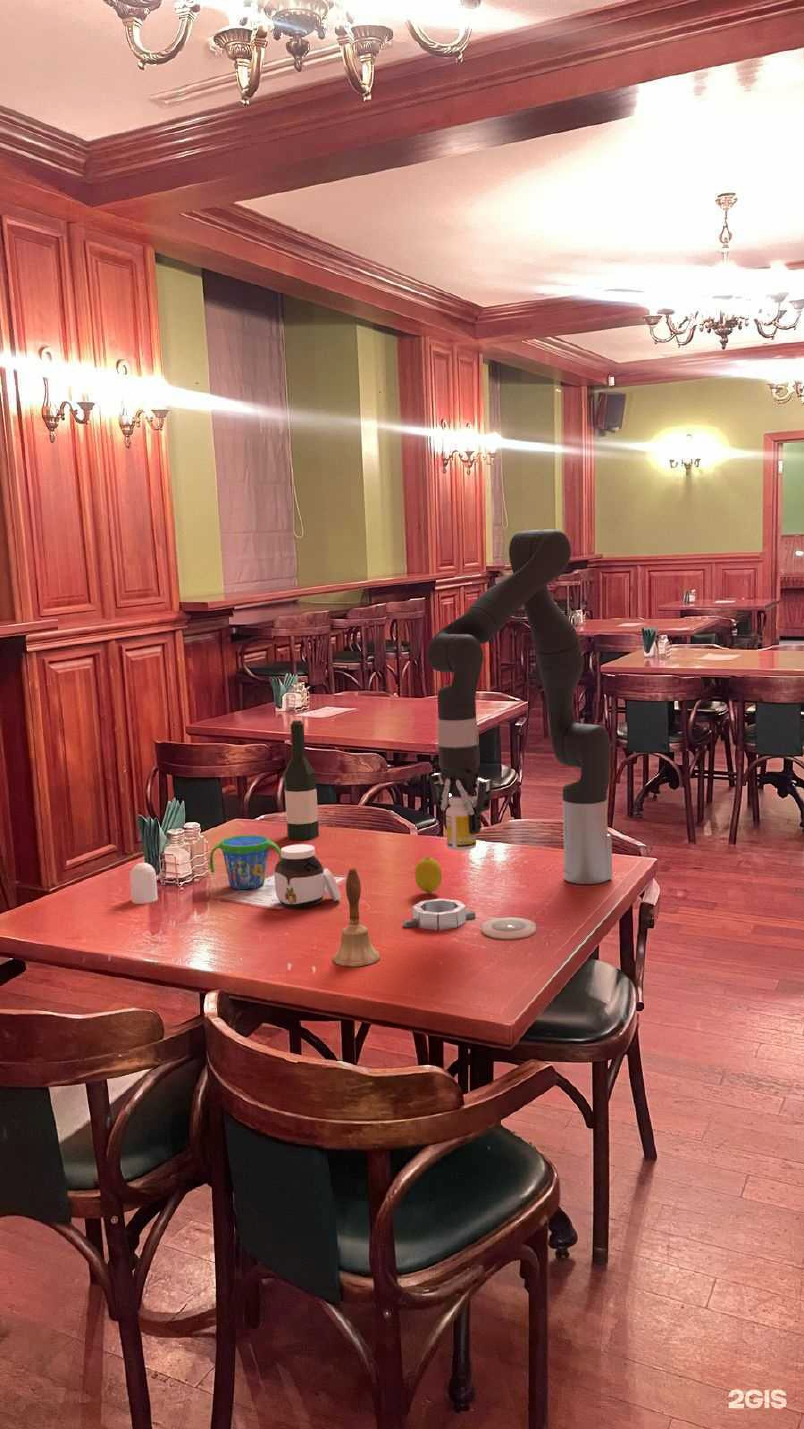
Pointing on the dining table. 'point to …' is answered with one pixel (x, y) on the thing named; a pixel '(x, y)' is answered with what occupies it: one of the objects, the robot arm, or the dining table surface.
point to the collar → (439, 914)
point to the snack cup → (245, 859)
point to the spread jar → (302, 878)
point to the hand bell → (355, 931)
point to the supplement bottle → (458, 825)
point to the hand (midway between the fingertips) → (462, 830)
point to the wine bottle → (300, 790)
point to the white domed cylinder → (143, 884)
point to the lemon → (428, 875)
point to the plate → (508, 928)
